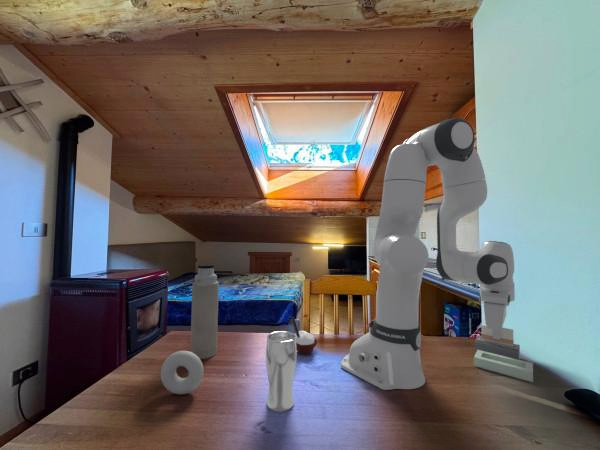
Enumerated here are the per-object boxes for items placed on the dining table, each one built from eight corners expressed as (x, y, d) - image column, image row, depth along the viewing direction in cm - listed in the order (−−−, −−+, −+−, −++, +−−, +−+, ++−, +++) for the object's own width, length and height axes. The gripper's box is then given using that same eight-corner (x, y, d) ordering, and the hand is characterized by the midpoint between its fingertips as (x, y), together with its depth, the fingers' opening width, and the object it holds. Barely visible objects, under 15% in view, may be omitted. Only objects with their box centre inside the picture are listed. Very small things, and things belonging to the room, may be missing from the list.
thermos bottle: (205, 346, 92) (208, 262, 93) (222, 351, 88) (224, 264, 88) (184, 354, 85) (187, 264, 86) (201, 361, 81) (203, 266, 82)
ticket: (481, 353, 87) (481, 324, 87) (482, 351, 88) (482, 323, 89) (513, 361, 82) (513, 331, 82) (513, 359, 83) (513, 329, 83)
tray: (474, 369, 79) (473, 357, 79) (477, 361, 84) (477, 349, 84) (533, 386, 70) (533, 372, 70) (533, 375, 75) (532, 363, 75)
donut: (156, 397, 63) (158, 353, 63) (164, 389, 66) (165, 347, 67) (200, 398, 63) (201, 354, 63) (205, 389, 66) (206, 348, 67)
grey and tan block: (475, 357, 86) (475, 340, 86) (478, 351, 91) (478, 334, 91) (519, 369, 79) (518, 350, 79) (519, 361, 84) (519, 343, 84)
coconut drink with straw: (315, 349, 92) (317, 312, 93) (319, 356, 85) (321, 317, 86) (287, 349, 90) (289, 312, 91) (289, 356, 84) (291, 317, 85)
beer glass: (291, 415, 57) (293, 343, 58) (260, 410, 59) (261, 340, 59) (298, 396, 64) (299, 332, 65) (270, 392, 66) (271, 329, 66)
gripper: (488, 286, 96) (488, 326, 95) (480, 296, 80) (480, 343, 80) (511, 289, 92) (511, 331, 91) (507, 300, 76) (507, 350, 76)
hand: (497, 337), depth 85 cm, fingers closed on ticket, 2 cm apart
